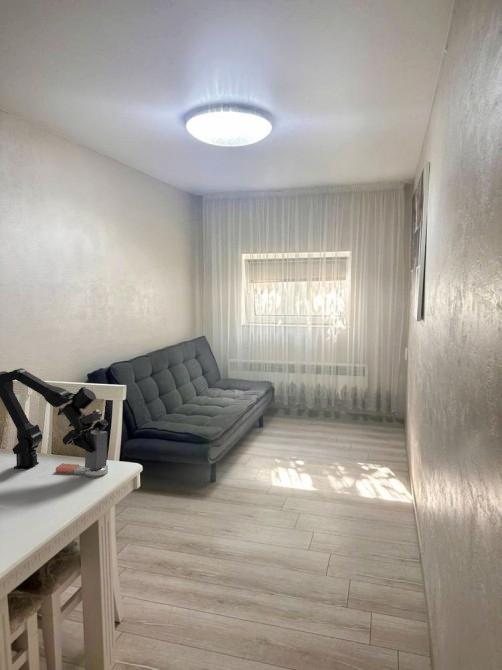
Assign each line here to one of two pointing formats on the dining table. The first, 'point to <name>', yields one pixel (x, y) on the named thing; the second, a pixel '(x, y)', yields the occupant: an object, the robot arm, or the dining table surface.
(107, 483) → the dining table surface
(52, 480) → the dining table surface
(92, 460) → the tall grey pillar
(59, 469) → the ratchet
